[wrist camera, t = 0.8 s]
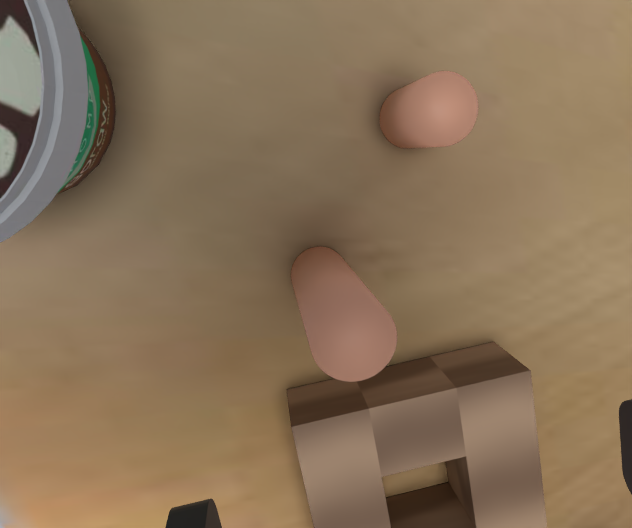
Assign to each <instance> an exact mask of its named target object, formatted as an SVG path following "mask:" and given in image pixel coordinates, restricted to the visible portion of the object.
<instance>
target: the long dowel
mask: <svg viewBox="0 0 632 528" xmlns="http://www.w3.org/2000/svg"><path fill="white" fill-rule="evenodd" d="M291 281H292V284H293V288H294V291H295V295H296V299H297V302H298V306H299V309H300V313H301V316H302V320H303V324H304V327H305V331H306V334H307V338H308V342H309V345H310V349H311V352H312V356H313V358H314V360H315V362H316V363H317V365H318V366H319V367H320V369H321V370H322V371H323V372H325V373H326V374H327V375H329V376H331V377H333V378H335V379H338V380H341V381H348V382H355V381H362V380H365V379H368V378H370V377H372V376H374V375H376V374H378V373H379V372H380V371H381V370H383V369H384V368H385V367H386V365H387V364H388V363H389V362H390V360H391V358H392V357H393V354H394V352H395V349H396V345H397V330H396V326H395V323H394V321H393V319H392V317H391V315H390V314H389V313H388V312H387V310H386V309H385V308H384V307H383V306H382V304H381V303H380V302H379V301H378V300H377V298H376V297H375V296H374V295H373V294H372V293H371V291H370V290H369V289H368V288H367V287H366V285H365V284H364V283H363V282H362V281H361V279H360V278H359V277H358V276H357V275H356V274H355V272H354V271H353V270H352V269H351V268H350V266H349V265H348V264H347V263H346V262H345V261H344V259H343V258H342V257H341V256H340V255H339V254H338V253H337V252H336V251H334V250H332V249H330V248H327V247H313V248H309V249H307V250H305V251H304V252H302V253H301V254H300V255H299V256H298V257H297V258H296V260H295V261H294V263H293V266H292V269H291Z"/></svg>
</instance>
